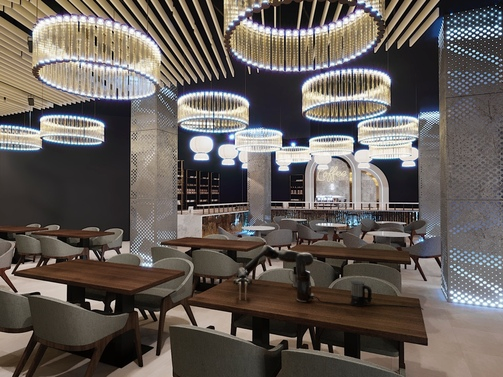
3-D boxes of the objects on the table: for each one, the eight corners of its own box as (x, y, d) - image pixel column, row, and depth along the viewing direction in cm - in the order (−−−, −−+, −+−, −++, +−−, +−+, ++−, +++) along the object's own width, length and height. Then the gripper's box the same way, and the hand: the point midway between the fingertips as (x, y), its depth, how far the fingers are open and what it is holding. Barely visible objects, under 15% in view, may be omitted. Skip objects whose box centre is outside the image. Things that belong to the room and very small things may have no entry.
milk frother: (350, 305, 223) (350, 283, 224) (351, 298, 238) (351, 277, 238) (372, 307, 218) (372, 285, 219) (372, 300, 233) (372, 279, 234)
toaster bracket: (237, 298, 235) (237, 280, 236) (248, 298, 236) (248, 280, 236) (236, 303, 225) (237, 284, 226) (248, 303, 226) (248, 284, 226)
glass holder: (305, 286, 269) (305, 267, 270) (292, 288, 261) (292, 269, 262) (298, 283, 277) (298, 265, 277) (285, 286, 269) (285, 267, 269)
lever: (239, 286, 241) (239, 283, 241) (246, 286, 241) (246, 283, 241) (239, 286, 229) (239, 283, 230) (246, 286, 229) (246, 283, 230)
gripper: (233, 273, 263) (233, 278, 247) (251, 273, 264) (252, 278, 247) (233, 283, 263) (233, 288, 247) (251, 283, 264) (252, 288, 247)
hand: (242, 283), depth 247 cm, fingers open, 8 cm apart
